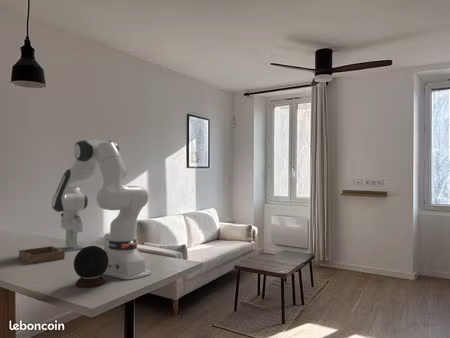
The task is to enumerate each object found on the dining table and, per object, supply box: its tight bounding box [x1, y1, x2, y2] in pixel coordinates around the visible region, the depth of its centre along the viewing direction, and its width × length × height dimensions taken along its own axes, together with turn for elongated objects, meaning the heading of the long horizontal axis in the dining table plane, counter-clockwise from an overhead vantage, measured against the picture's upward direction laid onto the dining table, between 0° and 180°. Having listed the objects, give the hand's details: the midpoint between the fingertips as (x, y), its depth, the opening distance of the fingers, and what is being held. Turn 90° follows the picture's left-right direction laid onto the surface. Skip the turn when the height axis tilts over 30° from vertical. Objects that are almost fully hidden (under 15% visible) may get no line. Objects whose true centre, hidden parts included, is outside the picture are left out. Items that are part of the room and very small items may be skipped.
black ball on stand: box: [73, 245, 109, 289], centre depth 137 cm, size 13×13×15 cm
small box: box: [103, 231, 110, 253], centre depth 195 cm, size 8×6×10 cm
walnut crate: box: [18, 245, 66, 265], centre depth 175 cm, size 16×16×4 cm
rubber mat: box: [56, 244, 85, 253], centre depth 199 cm, size 12×12×1 cm
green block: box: [65, 230, 78, 246], centre depth 199 cm, size 4×4×9 cm
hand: (71, 238), depth 199 cm, fingers closed on green block, 4 cm apart
